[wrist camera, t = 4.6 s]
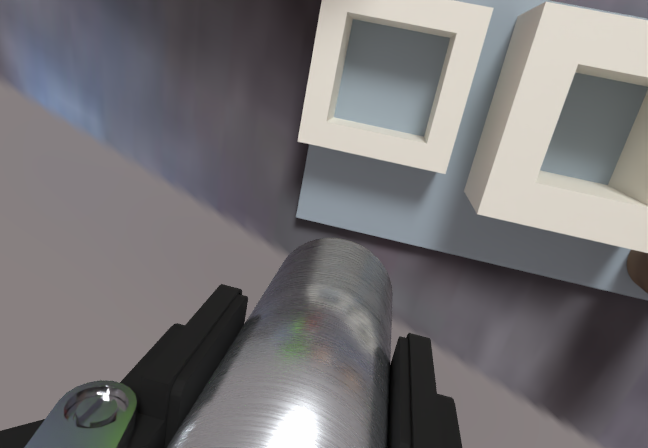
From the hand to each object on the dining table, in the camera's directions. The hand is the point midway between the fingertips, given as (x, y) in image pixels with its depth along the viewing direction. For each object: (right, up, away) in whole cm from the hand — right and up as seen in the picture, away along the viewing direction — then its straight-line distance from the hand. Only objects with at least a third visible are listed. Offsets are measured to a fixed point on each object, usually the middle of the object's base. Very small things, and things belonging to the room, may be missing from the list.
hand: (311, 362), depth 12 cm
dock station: (+12, +9, +16) cm, 21 cm away
